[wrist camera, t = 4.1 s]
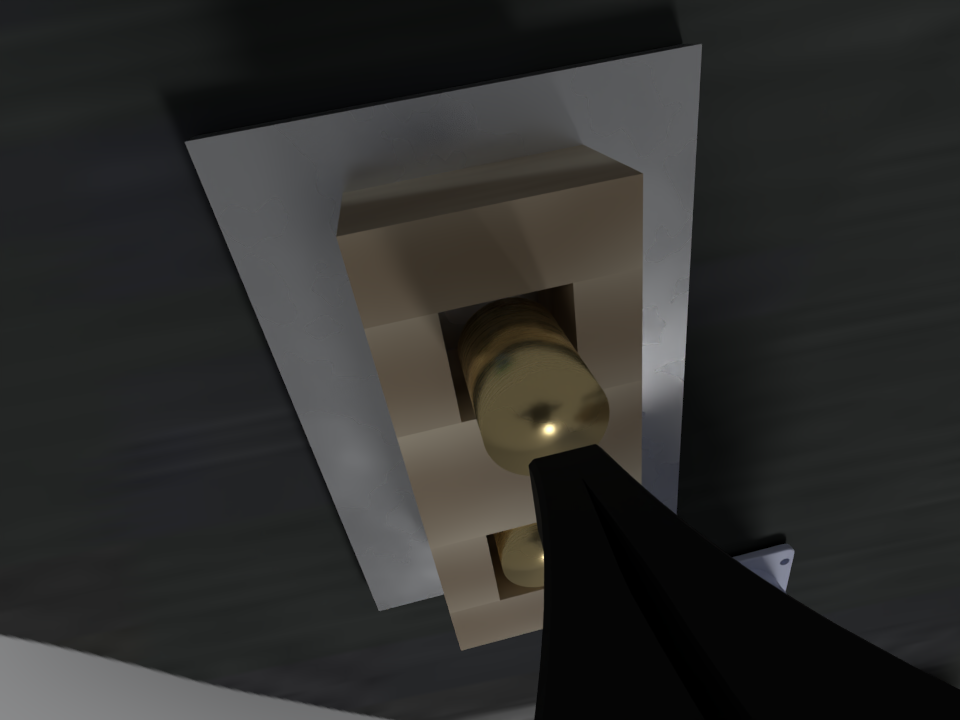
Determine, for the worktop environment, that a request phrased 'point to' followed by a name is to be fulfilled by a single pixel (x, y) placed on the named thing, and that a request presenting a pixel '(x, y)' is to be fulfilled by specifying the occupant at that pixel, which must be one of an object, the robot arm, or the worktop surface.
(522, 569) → the pin
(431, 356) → the housing
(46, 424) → the worktop surface
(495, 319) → the pin
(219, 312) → the worktop surface
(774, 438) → the worktop surface
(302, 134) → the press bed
